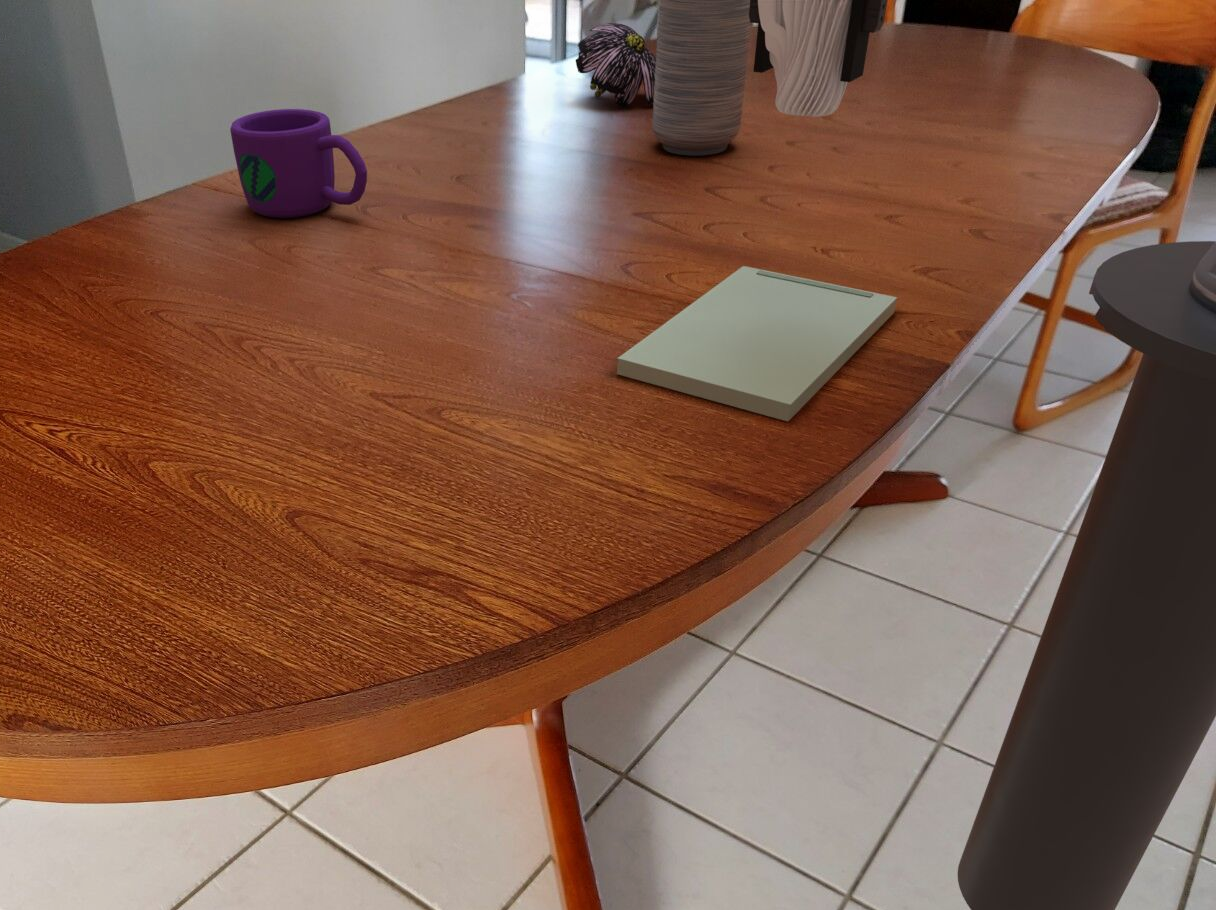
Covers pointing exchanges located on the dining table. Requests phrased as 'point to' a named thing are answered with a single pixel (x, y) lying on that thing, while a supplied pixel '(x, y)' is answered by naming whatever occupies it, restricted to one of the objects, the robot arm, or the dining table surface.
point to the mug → (292, 162)
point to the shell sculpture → (806, 52)
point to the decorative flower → (618, 63)
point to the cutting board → (759, 341)
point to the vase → (700, 74)
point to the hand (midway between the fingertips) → (807, 73)
